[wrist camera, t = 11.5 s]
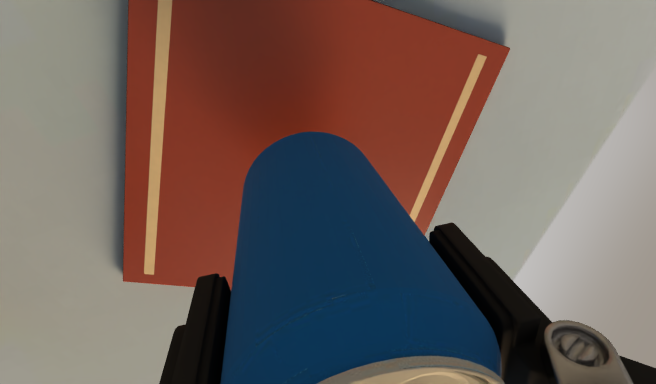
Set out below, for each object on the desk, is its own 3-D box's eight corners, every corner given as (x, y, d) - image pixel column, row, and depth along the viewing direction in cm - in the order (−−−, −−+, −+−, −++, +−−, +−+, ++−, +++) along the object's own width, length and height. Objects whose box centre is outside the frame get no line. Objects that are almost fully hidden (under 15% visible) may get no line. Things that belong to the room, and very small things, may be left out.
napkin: (133, -81, 13) (129, -84, 13) (506, 47, 18) (511, 48, 18) (125, 276, 20) (122, 281, 20) (391, 299, 25) (393, 303, 25)
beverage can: (222, 215, 17) (154, 540, 6) (281, 101, 15) (325, 302, 4) (330, 256, 19) (412, 542, 9) (394, 162, 17) (602, 389, 7)
